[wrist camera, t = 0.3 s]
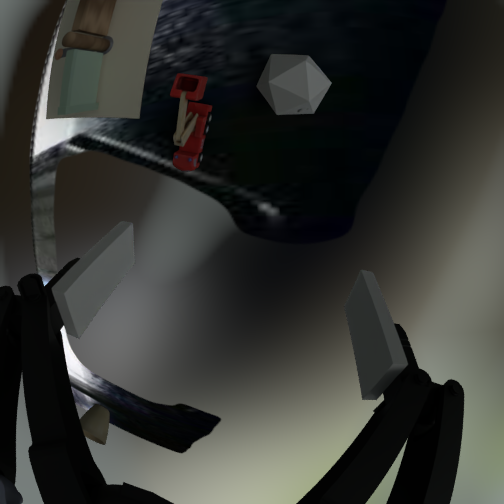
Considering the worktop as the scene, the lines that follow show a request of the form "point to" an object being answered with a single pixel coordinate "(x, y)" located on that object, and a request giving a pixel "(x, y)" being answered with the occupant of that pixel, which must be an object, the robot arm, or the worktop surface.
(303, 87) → the die
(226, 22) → the worktop surface
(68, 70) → the green rectangular block
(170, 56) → the worktop surface
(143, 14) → the card
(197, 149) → the toy fire truck
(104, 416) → the plant pot
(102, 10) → the base
